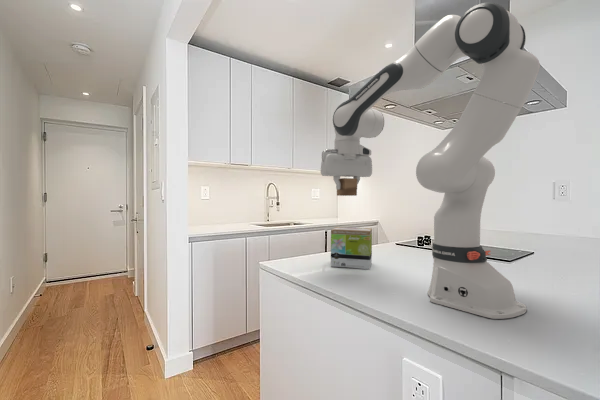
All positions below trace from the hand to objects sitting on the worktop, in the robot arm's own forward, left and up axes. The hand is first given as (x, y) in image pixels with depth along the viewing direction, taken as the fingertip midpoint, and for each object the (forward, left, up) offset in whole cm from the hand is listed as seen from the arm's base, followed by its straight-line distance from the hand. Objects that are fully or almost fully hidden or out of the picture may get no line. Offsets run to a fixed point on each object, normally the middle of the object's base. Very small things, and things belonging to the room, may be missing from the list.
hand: (346, 189), depth 110 cm
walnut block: (0, 0, -2) cm, 2 cm away
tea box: (+9, -8, -30) cm, 32 cm away
